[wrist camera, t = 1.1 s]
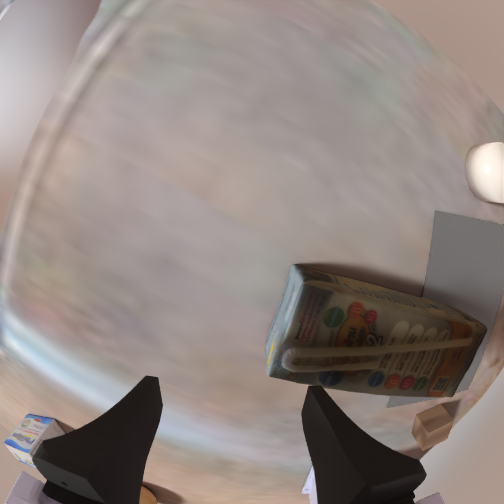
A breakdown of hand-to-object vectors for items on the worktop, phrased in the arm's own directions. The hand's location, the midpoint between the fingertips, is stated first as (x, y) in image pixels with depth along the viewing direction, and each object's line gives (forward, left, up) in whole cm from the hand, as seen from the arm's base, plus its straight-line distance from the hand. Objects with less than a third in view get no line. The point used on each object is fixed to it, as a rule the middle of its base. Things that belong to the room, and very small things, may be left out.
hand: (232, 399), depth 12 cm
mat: (-1, -24, -12) cm, 27 cm away
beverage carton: (-1, -12, -12) cm, 17 cm away
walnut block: (-16, -25, -12) cm, 32 cm away
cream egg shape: (+15, -24, -12) cm, 31 cm away
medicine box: (-25, +30, -12) cm, 41 cm away
